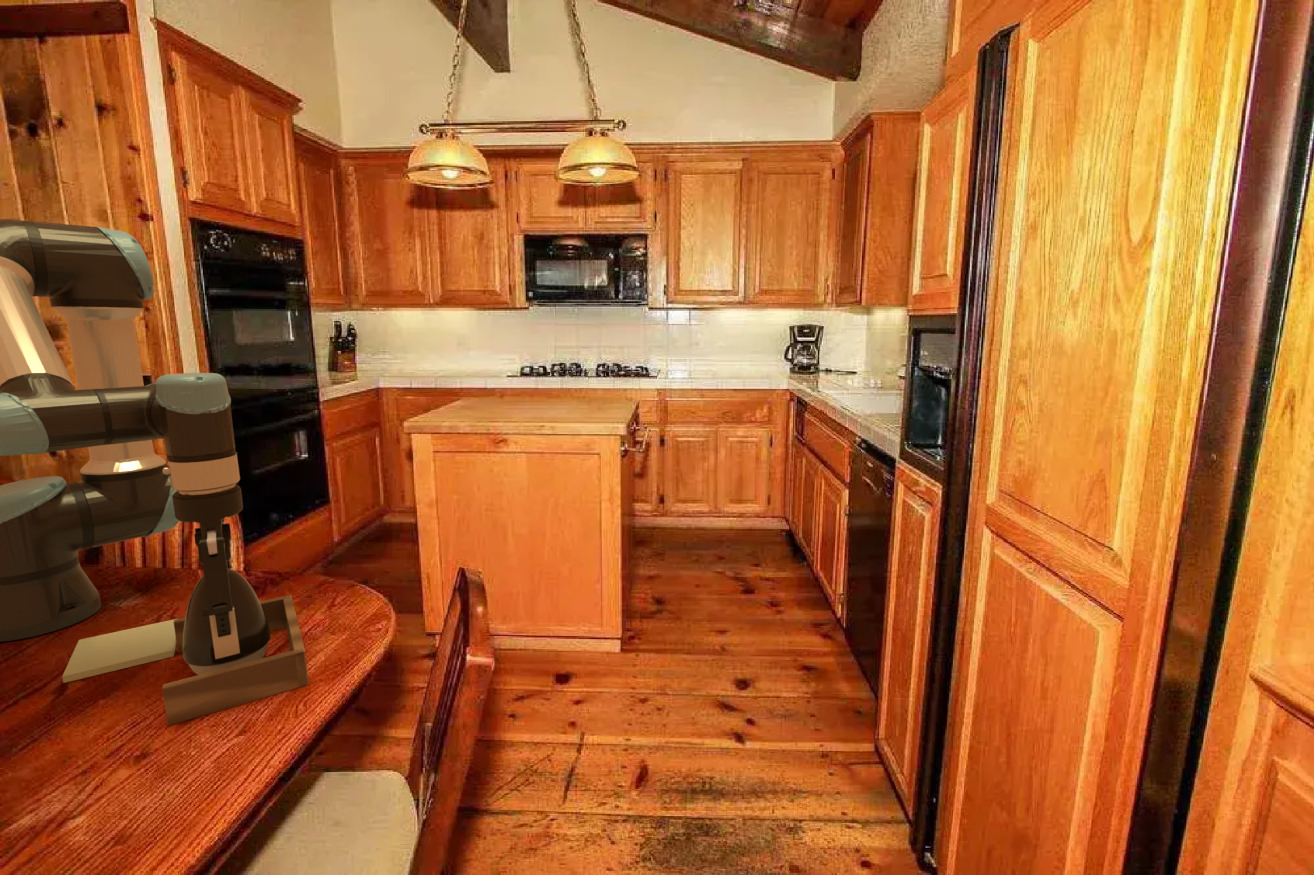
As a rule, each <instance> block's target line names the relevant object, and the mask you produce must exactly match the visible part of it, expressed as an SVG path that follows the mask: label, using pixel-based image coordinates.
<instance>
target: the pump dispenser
mask: <svg viewBox="0 0 1314 875" xmlns="http://www.w3.org/2000/svg"><path fill="white" fill-rule="evenodd" d="M228 574H229V583H230V591H231V600H232V604H233V606H234V611H235V619H236V626H237V634H238V641H239V649H240V653H238V654H234V655H230V656H226V657H222V658H219V659H215V652H214V645H213V638H212V631H211V625H210V618H209V616H204V617H203V614H202V611H207V609H208V602H207V594H206V586H205V578H204V575H202V576H201V578H200V579H198V581H197V583H196V584H195V587H194V589H193V590H192V592H191V595H190V599H189V600H188V604H187V609H186V614H185V617H186V618H185V617H184V618H185V623H184V631H183V653H182V656H183V660H184V662H185V663H187V664H188V666H189V668H190V669H191V671H192V672H193V673H195V674H196V676H197V675H201V674H205V673H209V672H212V671H216V670H220V669H224V668H228V667H232V666H235V665H239V664H243V663H247V662H251V661H255V660H258V659H262V658H264V656H265V654H266V653H267V650H268V646H269V642H270V641H271V637H272V636H271V632H270V628H269V624H268V621H267V618H266V615H265V613H264V610H263V608H262V605H261V603H260V599H259V598H258V596H257V594H256V591H255V590H254V588H253V586H251V584H250V582H248V580H247V579H246V578H245V577H244V576H243V575H242V574H241V573H239V571H238V570H237V571H236V570H235V569H232V568H231V569H228ZM223 603H225V602H223ZM219 604H221V603H219ZM215 605H216V604H215Z"/></svg>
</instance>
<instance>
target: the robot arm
mask: <svg viewBox="0 0 1314 875" xmlns="http://www.w3.org/2000/svg"><path fill="white" fill-rule="evenodd" d="M154 282H155V281H154V277H153V273H152V269H151V265H150V262H149V260H148V258H147V255H146V253H145V251H144V249H143V248H142V246H141V244H140V243H139V241H138V240H137V239H136V238H135V237H134V235H131V234H130V233H129V232H126V231H123V230H117V229H111V228H105V227H100V226H89V225H77V224H65V223H53V222H46V221H45V222H44V221H43V222H42V221H34V220H33V221H32V220H21V219H16V218H15V219H14V218H0V457H5V456H7V457H8V456H20V455H21V456H22V455H42V454H45V453H51V452H59V451H60V452H61V451H67V450H68V451H69V450H76V449H83V448H88V454H89V460H88V462H87V463H85V465H83V466H82V467H81V468H80V469H79V472H80V473H79V474H80V480H79V481H76V482H69V483H67V480H65V478H63V477H62V476H58V475H49V476H48V475H47V476H42V477H33V478H27V479H21V480H17V481H13V482H9V483H3V484H2V485H0V642H10V641H11V642H12V641H17V640H23V639H27V638H33V637H36V636H42V635H44V634H49V633H51V632H55V631H58V630H62V629H65V628H68V627H70V626H73V625H75V624H77V623H80V622H81V621H84V620H86V619H88V618H90V617H91V616H93V615H95V614H96V613H97V612H99V611H100V609H101V607H102V601H101V597H100V596H101V595H100V593H99V591H98V590H97V588H96V587H95V585H94V583H93V582H92V581H91V579H90V578H89V577H88V575H87V574H86V572H85V571H84V570H83V568H82V567H81V565H80V558H79V551H83V550H87V549H92V548H97V547H100V546H101V547H102V546H106V545H110V544H115V543H119V542H124V541H129V540H133V539H134V540H135V539H139V538H142V537H143V538H148V537H151V536H153V535H156V534H159V533H165V532H167V531H170V530H172V529H174V528H175V527H176V526H177V525H178V524H179V522H182V523H199V524H200V525H199V526H200V527H196V528H194V533H193V534H194V544H195V546H197V550H198V553H197V554H198V559H199V560H198V561H199V564H201V565H202V570H203V576H204V578H205V586H206V594H207V602H208V609H207V611H202V614H203V617H204V616H209V618H210V625H211V631H212V638H213V645H214V652H215V659H219V658H222V657H226V656H230V655H234V654H238V653H240V649H239V641H238V634H237V626H236V619H235V611H234V606H233V604H232V600H231V591H230V583H229V574H228V569H232V568H233V566H232V564H231V562H230V560H231V558H232V554H231V541H232V535H231V534H232V530H231V524H230V523H229V522H228V523H225V518H230V517H233V516H235V515H238V514H239V513H241V512H242V511H243V509H244V505H243V504H244V503H243V494H242V488H241V486H239V485H238V483H239V481H240V480H241V476H240V467H239V461H238V452H236V443H235V442H236V441H235V434H234V427H233V426H234V425H233V418H232V417H233V415H232V408H231V403H232V398H231V395H230V394H229V389H228V384H227V381H226V380H227V379H226V378H225V377H224V376H223V375H222V374H219V373H216V372H215V373H214V372H208V373H207V372H188V373H187V372H184V373H173V374H171V373H170V374H164V375H161V376H159V377H158V378H157V379H156V380H155V383H154V382H153V383H149V384H147V385H145V384H144V378H143V371H142V364H141V359H140V358H141V357H140V352H139V347H138V346H139V345H138V339H137V332H136V326H135V320H136V318H137V317H138V316H139V315H140V314H141V313H142V312H144V302H147V301H149V300H151V299H152V298H153V297H154V294H155V289H154V285H155V284H154ZM33 297H41V298H42V297H43V298H49V303H50V308H51V310H53V312H56V313H57V314H58V315H60V316H61V317H63V318H64V320H65V321H66V326H67V332H68V338H69V343H70V349H71V355H72V356H71V357H72V361H73V367H74V372H75V379H76V384H77V389H76V387H75V385H74V383H73V381H72V379H71V377H70V374H69V372H68V370H67V368H66V366H65V364H64V362H63V360H62V358H61V356H60V353H59V352H58V349H57V348H56V345H55V343H54V341H53V339H52V336H51V334H50V333H49V331H48V329H47V327H46V325H45V322H44V320H43V318H42V315H41V314H40V312H39V310H38V308H37V306H36V303H35V301H34V299H33ZM143 301H144V302H143ZM161 439H163V442H164V447H165V448H164V449H165V453H166V455H165V456H166V459H164V458H163V457H161V456H159V455H157V454H156V453H155V449H154V444H153V441H154V440H161ZM167 465H168V466H167ZM235 571H237V572H238V570H235ZM223 602H225V603H223ZM219 603H221V604H219ZM215 604H216V605H215Z"/></svg>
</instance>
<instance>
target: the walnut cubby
mask: <svg viewBox="0 0 1314 875" xmlns="http://www.w3.org/2000/svg"><path fill="white" fill-rule="evenodd" d="M259 601H260V600H259ZM260 603H261V605H262V608H263V610H264V613H265V615H266V618H267V621H268V624H269V628H270V633H271V632H273V631H278V630H282V629H286V631H287V632H286V633H287V636H288V640H289V646H290V651H285V652H282V653H278V654H274V655H270V656H267V657H263V658H262V659H258V660H255V661H251V662H247V663H243V664H239V665H235V666H232V667H228V668H224V669H220V670H216V671H212V672H209V673H205V674H201V675H197V674H196V675H194V676H190V677H186V678H182V679H179V680H174V681H171V682H168V683H167V682H166V683H164V684H163V683H162V694H163V701H164V708H165V713H166V720H167V725H168V726H172V725H175V724H178V723H182V722H186V721H190V720H192V719H195V718H199V717H202V716H206V715H209V714H213V713H217V712H219V711H224V710H226V709H229V708H233V707H234V708H235V707H237V706H240V705H241V706H242V705H244V704H247V703H251V702H254V701H257V700H261V699H264V698H267V697H272V696H275V695H277V694H281V693H284V692H288V691H292V690H295V689H299V688H302V687H305V686H308V685H310V683H309V674H308V666H307V664H308V663H307V656H306V650H305V646H304V641H303V637H302V633H301V628H300V624H299V621H298V617H297V613H296V609H295V605H294V600H293V597H292V594H289V595H284V596H279V597H274V598H270V599H266V600H265V599H264V600H261V601H260ZM185 618H186V616H185V617H182V618H175V619H176V620H174V629H175V635H176V647H177V648H176V649H177V653H178V655H179V654H183V631H184V623H185Z"/></svg>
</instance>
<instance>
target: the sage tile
mask: <svg viewBox="0 0 1314 875" xmlns="http://www.w3.org/2000/svg"><path fill="white" fill-rule="evenodd" d="M176 619H177V618H174V619H169V620H165V621H161V622H154V623H151V624H150V623H149V624H145V625H142V626H136V627H133V628H127V629H123V630H117V631H114V632H108V633H104V634H100V635H99V634H98V635H95V636H91V637H86V638H81V639H79V640H78V641H77V643H76V646H75V648H74V650H73V652H72V654H71V655H70V656H71V657H70V659H69V661H68V663H67V665H66V666H65V670H64V672H63V674H62V676H61V678H62V682H63V684H64V683H65V684H66V683H70V682H73V681H78V680H81V679H86V678H90V677H94V676H98V675H103V674H106V673H110V672H116V671H118V670H122V669H123V670H124V669H126V668H133V667H136V666H140V665H143V664H148V663H151V662H156V661H160V660H165V659H168V658H172V657H174V656H175V651H176V647H177V642H176V635H175V629H174V620H176Z"/></svg>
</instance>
